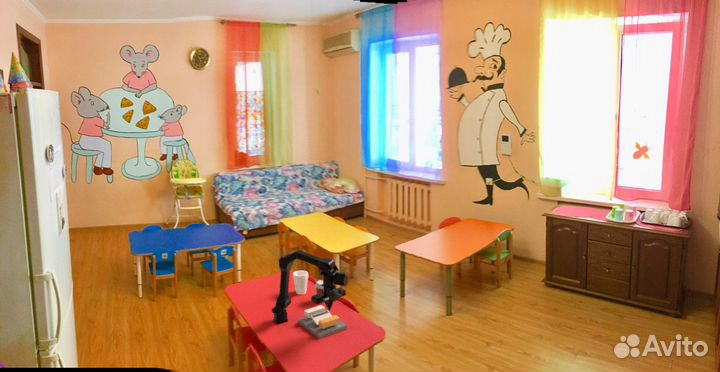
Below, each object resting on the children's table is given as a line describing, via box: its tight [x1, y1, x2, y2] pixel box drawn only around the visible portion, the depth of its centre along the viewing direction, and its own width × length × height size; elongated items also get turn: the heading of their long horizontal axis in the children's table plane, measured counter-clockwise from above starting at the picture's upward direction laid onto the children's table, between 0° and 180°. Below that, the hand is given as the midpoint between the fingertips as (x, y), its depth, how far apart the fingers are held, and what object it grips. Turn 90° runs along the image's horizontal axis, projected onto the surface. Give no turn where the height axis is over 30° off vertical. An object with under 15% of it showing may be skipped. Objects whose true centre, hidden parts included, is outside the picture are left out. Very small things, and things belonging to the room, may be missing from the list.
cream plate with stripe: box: [311, 309, 333, 325], centre depth 270 cm, size 11×7×1 cm, turn 126°
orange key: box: [319, 314, 341, 329], centre depth 265 cm, size 11×4×3 cm, turn 126°
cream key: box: [304, 305, 326, 318], centre depth 276 cm, size 11×4×3 cm, turn 126°
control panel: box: [297, 314, 348, 340], centre depth 271 cm, size 18×22×4 cm
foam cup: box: [292, 270, 309, 295], centre depth 312 cm, size 10×9×13 cm
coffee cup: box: [314, 279, 325, 304], centre depth 301 cm, size 9×9×12 cm
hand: (329, 310), depth 263 cm, fingers closed
